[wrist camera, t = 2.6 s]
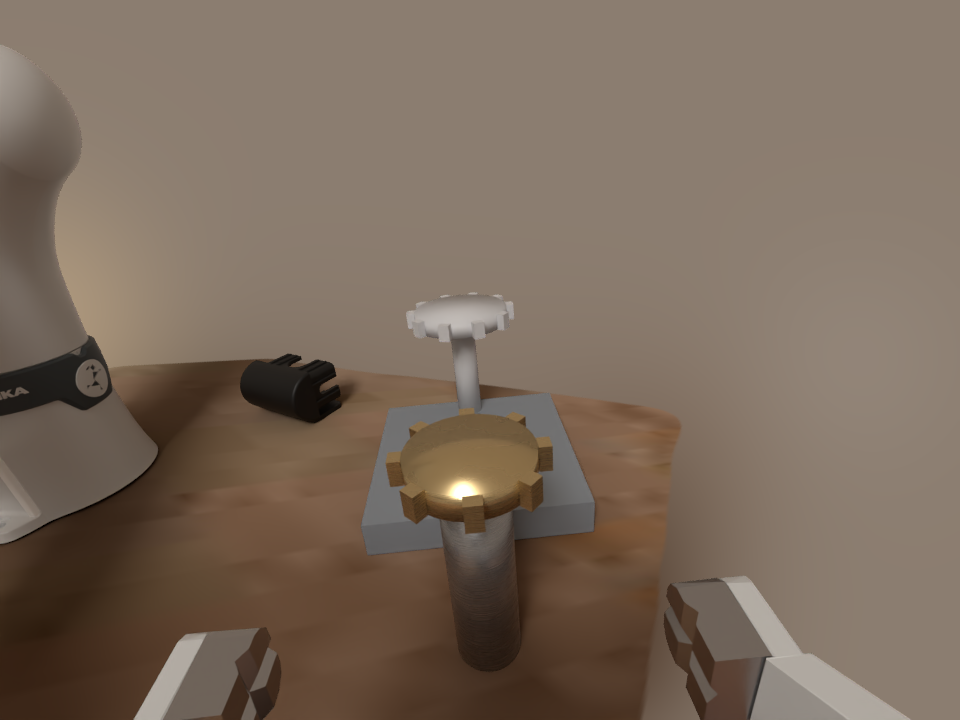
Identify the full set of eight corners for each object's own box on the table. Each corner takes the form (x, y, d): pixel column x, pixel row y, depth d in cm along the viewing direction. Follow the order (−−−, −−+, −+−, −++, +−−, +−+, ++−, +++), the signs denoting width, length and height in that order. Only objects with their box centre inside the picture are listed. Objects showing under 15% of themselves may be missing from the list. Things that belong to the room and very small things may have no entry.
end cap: (248, 417, 59) (232, 369, 56) (294, 393, 64) (281, 348, 62) (301, 435, 54) (287, 383, 51) (346, 407, 60) (335, 359, 57)
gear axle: (419, 720, 26) (374, 516, 20) (426, 590, 33) (395, 415, 27) (570, 703, 26) (570, 496, 20) (542, 577, 33) (536, 401, 28)
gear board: (367, 555, 37) (329, 392, 31) (396, 417, 56) (375, 301, 50) (593, 531, 37) (598, 366, 31) (544, 402, 56) (541, 285, 50)
